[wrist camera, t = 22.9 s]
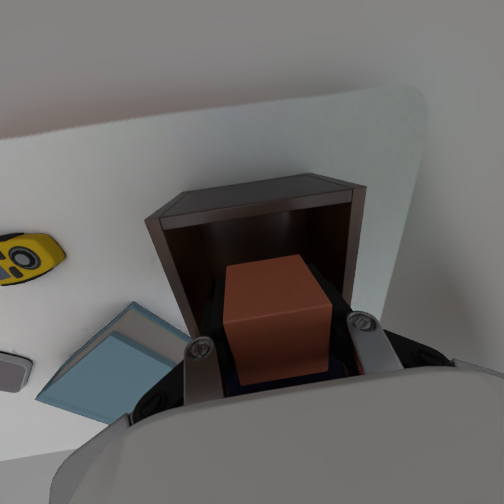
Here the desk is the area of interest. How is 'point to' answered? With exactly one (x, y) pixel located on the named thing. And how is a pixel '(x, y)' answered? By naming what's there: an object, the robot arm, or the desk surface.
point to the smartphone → (13, 373)
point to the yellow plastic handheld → (27, 257)
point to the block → (276, 320)
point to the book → (116, 366)
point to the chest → (256, 233)
